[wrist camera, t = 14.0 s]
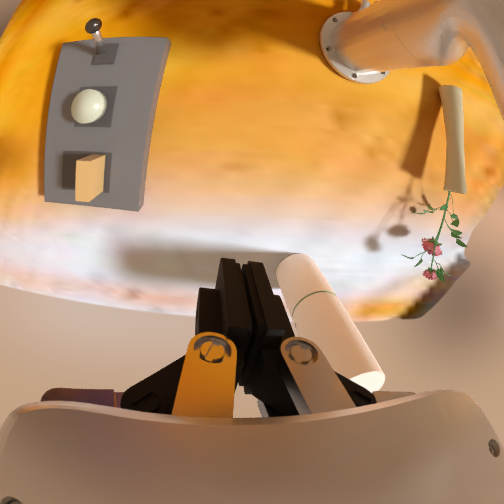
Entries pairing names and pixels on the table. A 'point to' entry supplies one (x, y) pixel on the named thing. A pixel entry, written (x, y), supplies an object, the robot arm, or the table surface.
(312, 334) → the cylindrical container
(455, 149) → the flower vase
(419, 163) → the table surface
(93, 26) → the toggle lever
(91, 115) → the push button
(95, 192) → the paddle switch
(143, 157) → the control panel
